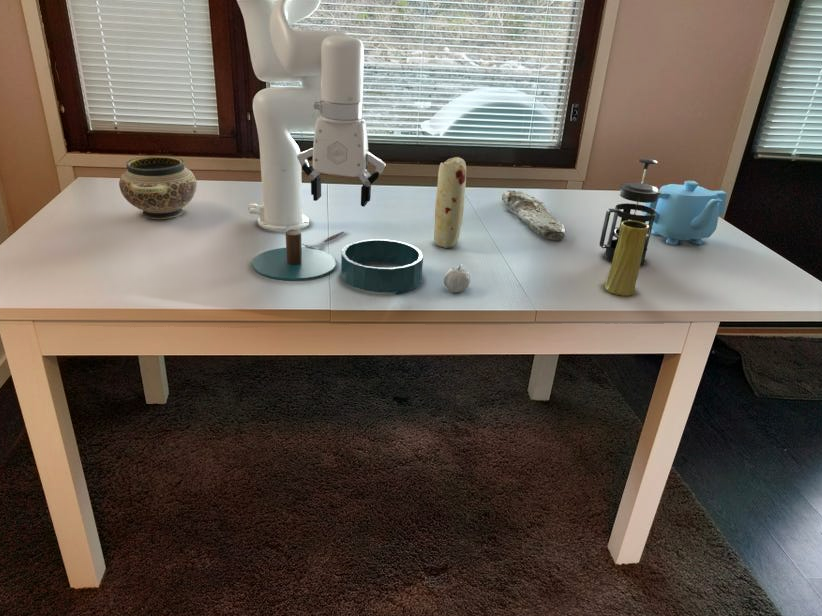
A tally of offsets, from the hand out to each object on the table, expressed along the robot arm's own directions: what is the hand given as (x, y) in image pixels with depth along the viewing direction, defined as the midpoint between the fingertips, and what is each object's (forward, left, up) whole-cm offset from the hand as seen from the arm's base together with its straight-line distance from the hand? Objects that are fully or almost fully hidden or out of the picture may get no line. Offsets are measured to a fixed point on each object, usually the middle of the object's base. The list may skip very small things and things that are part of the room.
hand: (340, 201), depth 129 cm
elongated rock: (+38, +52, -15) cm, 66 cm away
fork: (-8, +16, -16) cm, 24 cm away
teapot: (+76, +49, -15) cm, 92 cm away
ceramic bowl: (-53, +22, -15) cm, 60 cm away
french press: (+60, +29, -15) cm, 68 cm away
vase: (+58, +10, -15) cm, 61 cm away
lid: (-10, 0, -15) cm, 18 cm away
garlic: (+25, -1, -15) cm, 29 cm away
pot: (+9, 0, -15) cm, 18 cm away
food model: (+19, +25, -15) cm, 35 cm away
